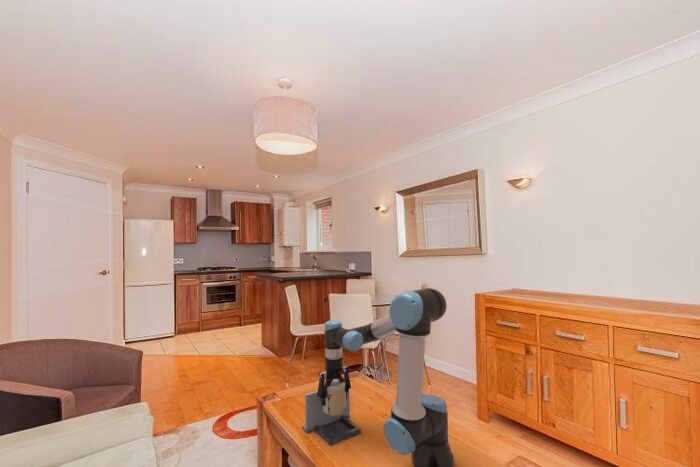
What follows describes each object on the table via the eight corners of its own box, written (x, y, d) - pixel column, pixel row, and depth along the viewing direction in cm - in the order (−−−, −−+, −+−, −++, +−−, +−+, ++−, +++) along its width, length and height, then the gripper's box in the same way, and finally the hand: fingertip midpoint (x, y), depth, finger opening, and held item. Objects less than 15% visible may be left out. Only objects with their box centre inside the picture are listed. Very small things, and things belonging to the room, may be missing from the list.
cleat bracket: (360, 433, 143) (360, 428, 143) (330, 445, 134) (330, 440, 134) (343, 419, 154) (343, 415, 154) (314, 430, 146) (314, 425, 146)
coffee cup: (322, 408, 149) (321, 380, 149) (342, 404, 152) (341, 377, 152) (326, 418, 140) (326, 389, 140) (348, 414, 143) (347, 386, 143)
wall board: (349, 417, 156) (349, 382, 156) (307, 433, 144) (306, 395, 144) (343, 412, 160) (343, 378, 160) (302, 428, 148) (301, 391, 148)
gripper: (349, 349, 155) (350, 399, 155) (308, 359, 143) (308, 413, 143) (358, 354, 149) (359, 405, 149) (316, 364, 137) (317, 420, 137)
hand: (334, 409), depth 146 cm, fingers closed on coffee cup, 9 cm apart
